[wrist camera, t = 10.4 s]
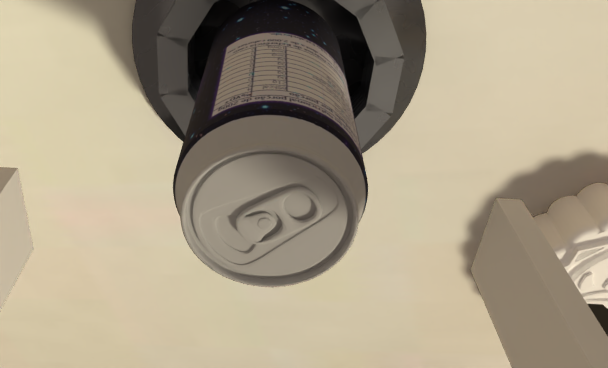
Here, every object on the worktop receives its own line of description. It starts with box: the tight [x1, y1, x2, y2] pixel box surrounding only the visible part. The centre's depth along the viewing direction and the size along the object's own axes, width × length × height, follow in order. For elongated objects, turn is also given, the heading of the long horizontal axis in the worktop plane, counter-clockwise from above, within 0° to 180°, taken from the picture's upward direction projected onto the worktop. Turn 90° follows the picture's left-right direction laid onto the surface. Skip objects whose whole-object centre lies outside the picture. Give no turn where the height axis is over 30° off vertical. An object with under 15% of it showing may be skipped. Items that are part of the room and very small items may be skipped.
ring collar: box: [132, 0, 426, 153], centre depth 25 cm, size 13×13×3 cm
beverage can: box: [173, 0, 368, 287], centre depth 21 cm, size 6×6×12 cm
